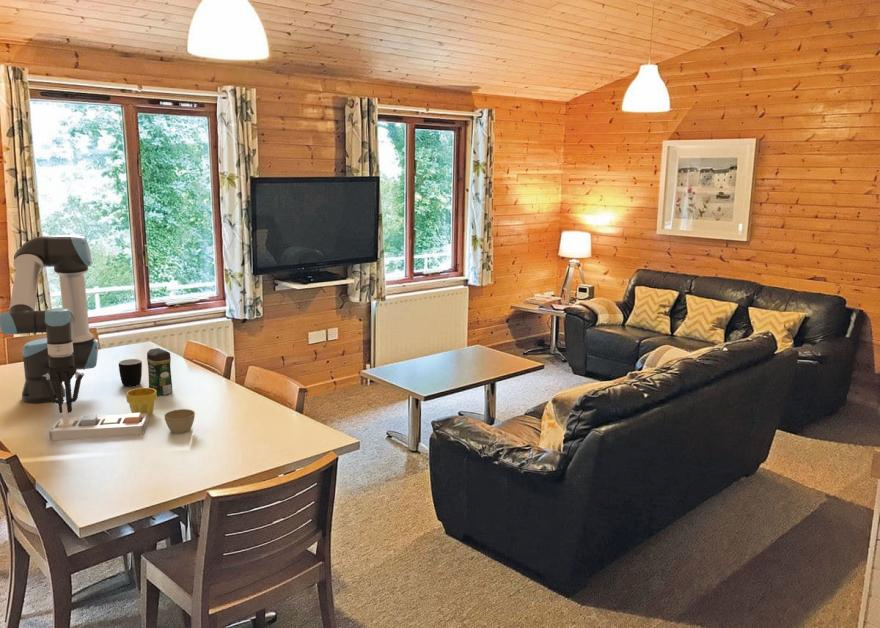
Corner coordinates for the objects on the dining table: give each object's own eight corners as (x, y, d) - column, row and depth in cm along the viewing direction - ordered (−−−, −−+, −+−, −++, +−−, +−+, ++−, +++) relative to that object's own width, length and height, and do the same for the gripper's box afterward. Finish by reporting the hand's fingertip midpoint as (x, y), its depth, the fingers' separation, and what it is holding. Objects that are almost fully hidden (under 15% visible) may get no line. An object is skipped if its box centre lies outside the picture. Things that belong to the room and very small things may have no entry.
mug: (146, 385, 301) (144, 362, 299) (124, 389, 295) (122, 365, 293) (136, 378, 310) (134, 356, 308) (114, 382, 304) (113, 359, 302)
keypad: (50, 443, 237) (48, 431, 236) (60, 429, 249) (59, 418, 248) (143, 437, 244) (142, 425, 243) (148, 424, 256) (147, 413, 255)
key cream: (58, 431, 241) (58, 424, 240) (62, 427, 245) (61, 420, 244) (72, 430, 242) (72, 423, 241) (75, 426, 246) (75, 419, 245)
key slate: (81, 427, 242) (80, 420, 242) (83, 422, 246) (83, 415, 246) (95, 426, 243) (94, 419, 243) (97, 421, 248) (97, 415, 247)
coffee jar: (146, 392, 291) (143, 348, 288) (164, 388, 297) (162, 345, 293) (156, 398, 285) (153, 353, 281) (175, 394, 290) (173, 350, 287)
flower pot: (165, 429, 251) (164, 410, 250) (195, 426, 255) (194, 407, 253) (165, 439, 242) (164, 420, 241) (196, 436, 246) (195, 417, 244)
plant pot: (164, 415, 265) (162, 390, 263) (140, 423, 257) (138, 397, 255) (145, 410, 270) (144, 385, 269) (121, 418, 262) (119, 392, 260)
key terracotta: (125, 424, 246) (124, 417, 245) (127, 420, 250) (126, 413, 249) (138, 423, 247) (138, 416, 246) (140, 419, 251) (140, 412, 250)
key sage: (103, 429, 244) (103, 422, 244) (106, 425, 248) (105, 418, 248) (117, 428, 245) (116, 422, 245) (119, 424, 250) (119, 417, 249)
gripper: (36, 358, 233) (42, 426, 237) (79, 356, 236) (85, 424, 241) (42, 352, 240) (48, 419, 245) (84, 351, 243) (89, 416, 248)
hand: (66, 421), depth 243 cm, fingers closed
